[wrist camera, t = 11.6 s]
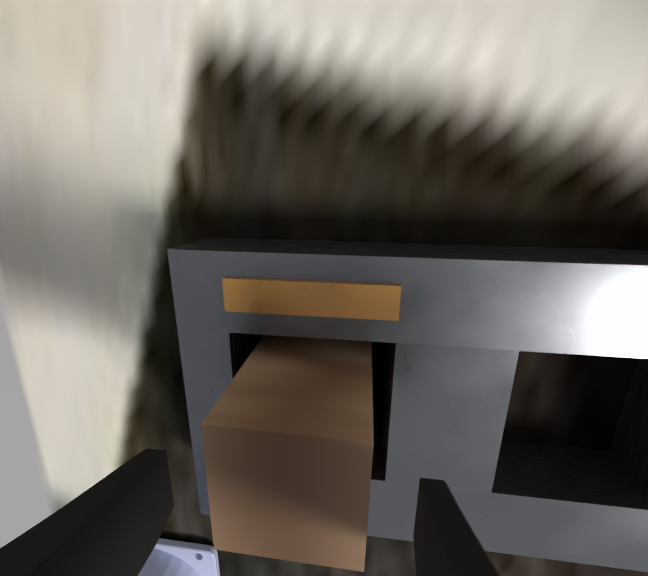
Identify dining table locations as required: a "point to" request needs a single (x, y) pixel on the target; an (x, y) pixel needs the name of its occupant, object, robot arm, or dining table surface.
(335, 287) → the rail block
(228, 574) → the dining table surface
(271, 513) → the walnut block
